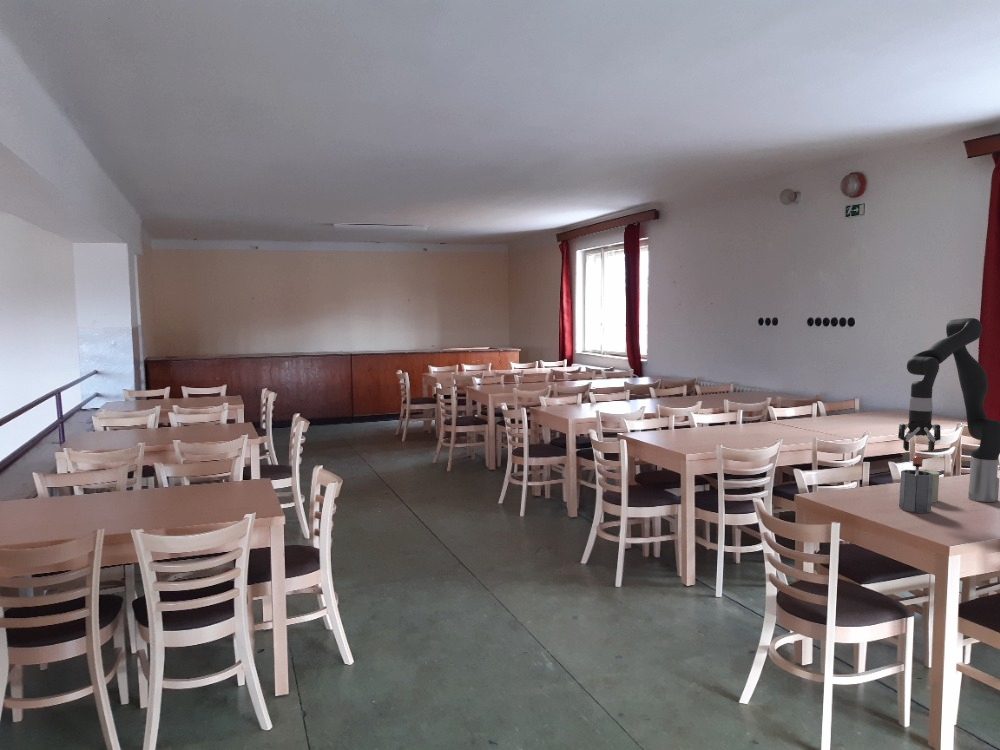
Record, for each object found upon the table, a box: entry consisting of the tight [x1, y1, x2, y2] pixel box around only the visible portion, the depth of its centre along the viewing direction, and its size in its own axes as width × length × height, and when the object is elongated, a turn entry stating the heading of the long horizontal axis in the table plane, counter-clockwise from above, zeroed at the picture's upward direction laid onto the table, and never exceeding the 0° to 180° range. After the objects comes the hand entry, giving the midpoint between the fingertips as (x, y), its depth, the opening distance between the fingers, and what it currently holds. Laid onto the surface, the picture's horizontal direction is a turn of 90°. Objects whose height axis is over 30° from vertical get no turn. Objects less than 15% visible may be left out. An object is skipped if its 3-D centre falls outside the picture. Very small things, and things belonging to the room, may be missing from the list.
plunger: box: [912, 455, 924, 475], centre depth 277 cm, size 7×7×20 cm
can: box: [919, 468, 940, 503], centre depth 293 cm, size 9×9×12 cm
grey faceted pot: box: [898, 469, 933, 514], centre depth 279 cm, size 10×12×14 cm
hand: (918, 450), depth 276 cm, fingers open, 8 cm apart
